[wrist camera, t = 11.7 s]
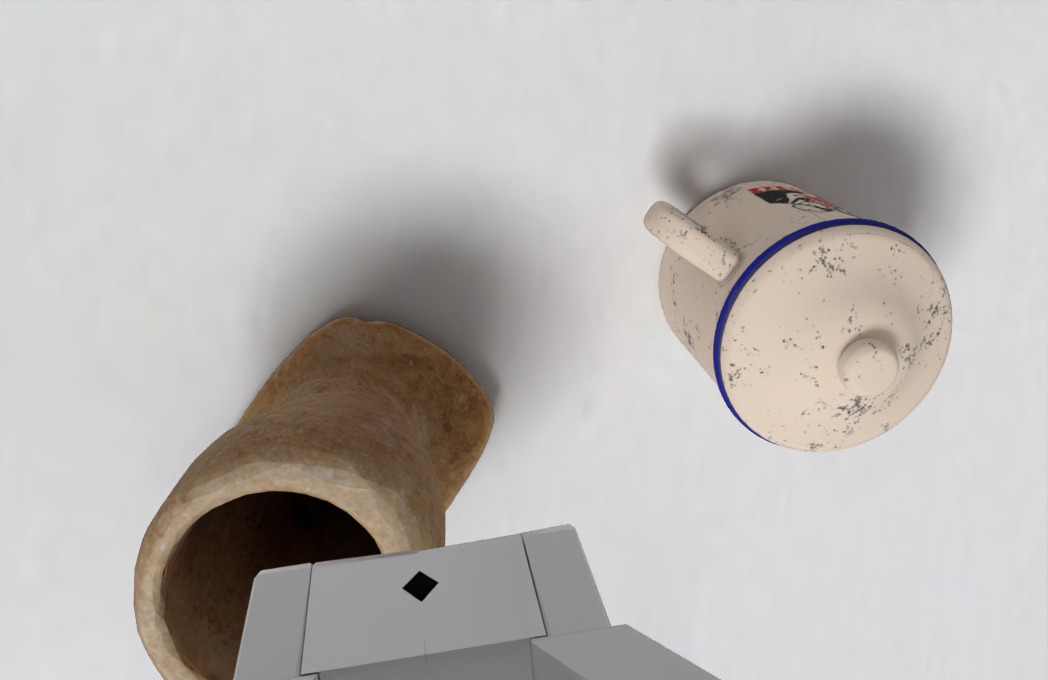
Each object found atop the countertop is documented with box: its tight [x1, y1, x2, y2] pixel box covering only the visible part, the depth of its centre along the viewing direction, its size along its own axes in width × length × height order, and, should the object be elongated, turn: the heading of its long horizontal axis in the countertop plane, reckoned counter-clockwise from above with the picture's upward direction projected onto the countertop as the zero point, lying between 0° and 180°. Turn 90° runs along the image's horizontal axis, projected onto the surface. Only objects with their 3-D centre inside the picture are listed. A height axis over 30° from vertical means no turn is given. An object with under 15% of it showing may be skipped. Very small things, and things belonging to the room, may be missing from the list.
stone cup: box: [134, 317, 494, 680], centre depth 36 cm, size 15×12×15 cm
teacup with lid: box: [644, 181, 952, 452], centre depth 36 cm, size 12×9×12 cm
